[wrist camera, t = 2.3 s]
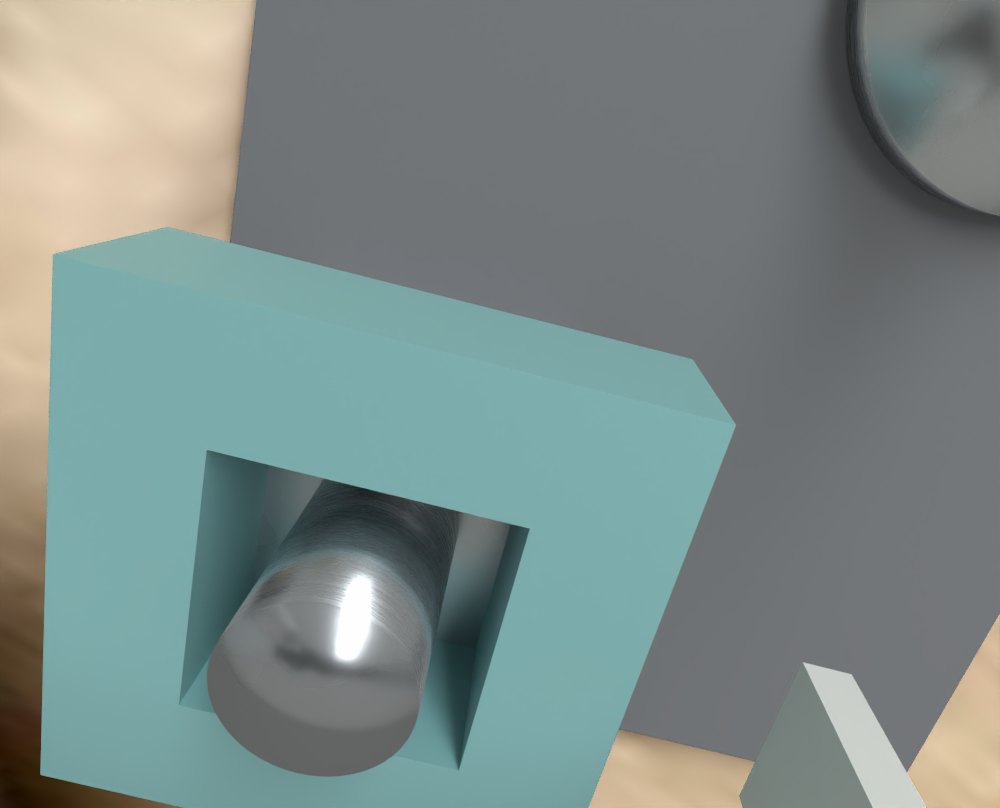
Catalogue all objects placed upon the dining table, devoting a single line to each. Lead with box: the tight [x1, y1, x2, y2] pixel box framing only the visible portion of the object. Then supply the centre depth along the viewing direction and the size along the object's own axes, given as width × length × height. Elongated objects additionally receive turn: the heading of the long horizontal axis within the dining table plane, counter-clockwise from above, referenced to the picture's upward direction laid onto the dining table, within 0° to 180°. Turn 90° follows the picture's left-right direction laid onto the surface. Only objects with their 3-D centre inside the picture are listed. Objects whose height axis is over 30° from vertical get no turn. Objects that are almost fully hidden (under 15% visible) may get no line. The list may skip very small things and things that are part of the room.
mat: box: [230, 0, 1000, 772], centre depth 16 cm, size 20×26×1 cm
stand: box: [207, 465, 511, 777], centre depth 14 cm, size 6×6×8 cm
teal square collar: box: [40, 227, 736, 808], centre depth 12 cm, size 9×9×3 cm
